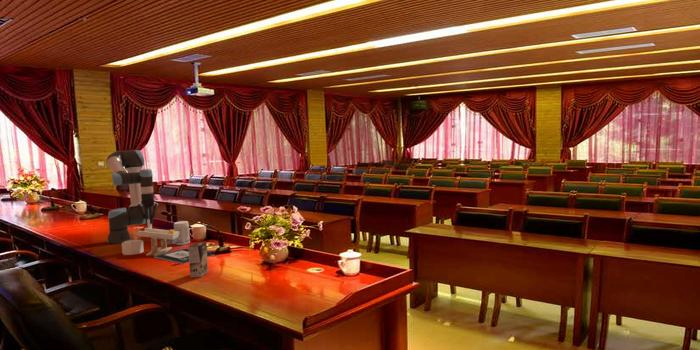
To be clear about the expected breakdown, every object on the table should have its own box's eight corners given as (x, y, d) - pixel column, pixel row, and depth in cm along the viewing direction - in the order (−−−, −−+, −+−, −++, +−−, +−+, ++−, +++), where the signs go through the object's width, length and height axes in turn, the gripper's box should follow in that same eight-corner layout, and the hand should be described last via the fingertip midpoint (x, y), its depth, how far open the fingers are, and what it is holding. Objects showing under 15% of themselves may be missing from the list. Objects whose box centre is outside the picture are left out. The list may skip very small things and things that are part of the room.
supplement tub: (187, 241, 321) (185, 220, 319) (192, 243, 313) (190, 222, 312) (173, 243, 314) (171, 222, 313) (177, 246, 307) (176, 224, 306)
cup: (128, 250, 298) (128, 239, 298) (146, 250, 298) (145, 239, 298) (119, 255, 287) (118, 244, 287) (137, 254, 287) (136, 243, 286)
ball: (169, 234, 293) (170, 228, 293) (175, 235, 293) (176, 229, 293) (166, 235, 289) (167, 229, 289) (172, 237, 289) (173, 230, 289)
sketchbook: (183, 265, 261) (183, 261, 261) (152, 258, 278) (152, 255, 278) (214, 256, 279) (214, 252, 279) (183, 250, 296) (183, 247, 296)
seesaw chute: (183, 238, 304) (184, 228, 304) (171, 244, 286) (172, 234, 285) (149, 234, 305) (150, 224, 304) (136, 240, 286) (136, 230, 286)
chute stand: (172, 248, 300) (171, 232, 300) (160, 255, 283) (159, 238, 283) (158, 248, 301) (157, 232, 300) (146, 255, 284) (145, 238, 283)
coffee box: (202, 277, 234) (200, 246, 233) (189, 277, 234) (187, 246, 233) (208, 271, 243) (206, 241, 242) (196, 272, 244) (194, 242, 242)
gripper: (134, 194, 296) (137, 230, 298) (154, 193, 295) (157, 229, 297) (140, 192, 303) (142, 228, 305) (159, 192, 303) (162, 227, 305)
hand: (149, 228), depth 301 cm, fingers closed
